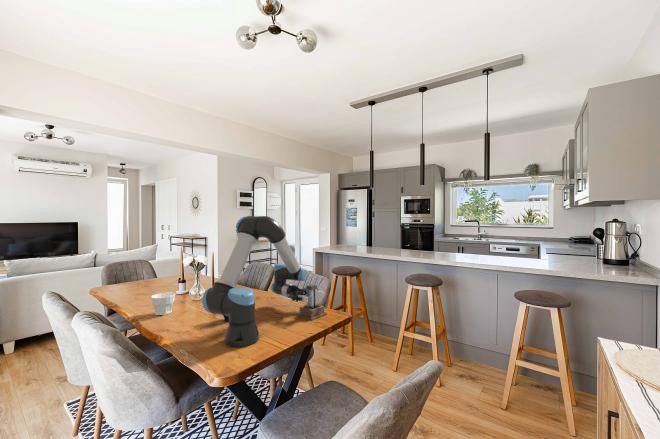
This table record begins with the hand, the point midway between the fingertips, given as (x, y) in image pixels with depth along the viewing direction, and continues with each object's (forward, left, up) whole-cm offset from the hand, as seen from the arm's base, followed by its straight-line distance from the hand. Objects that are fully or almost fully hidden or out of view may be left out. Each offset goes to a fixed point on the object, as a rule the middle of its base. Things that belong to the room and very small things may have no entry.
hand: (316, 297), depth 165 cm
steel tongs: (0, +3, -10) cm, 10 cm away
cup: (-53, +74, -11) cm, 92 cm away
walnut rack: (0, +3, -11) cm, 11 cm away
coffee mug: (-34, +35, -11) cm, 50 cm away
